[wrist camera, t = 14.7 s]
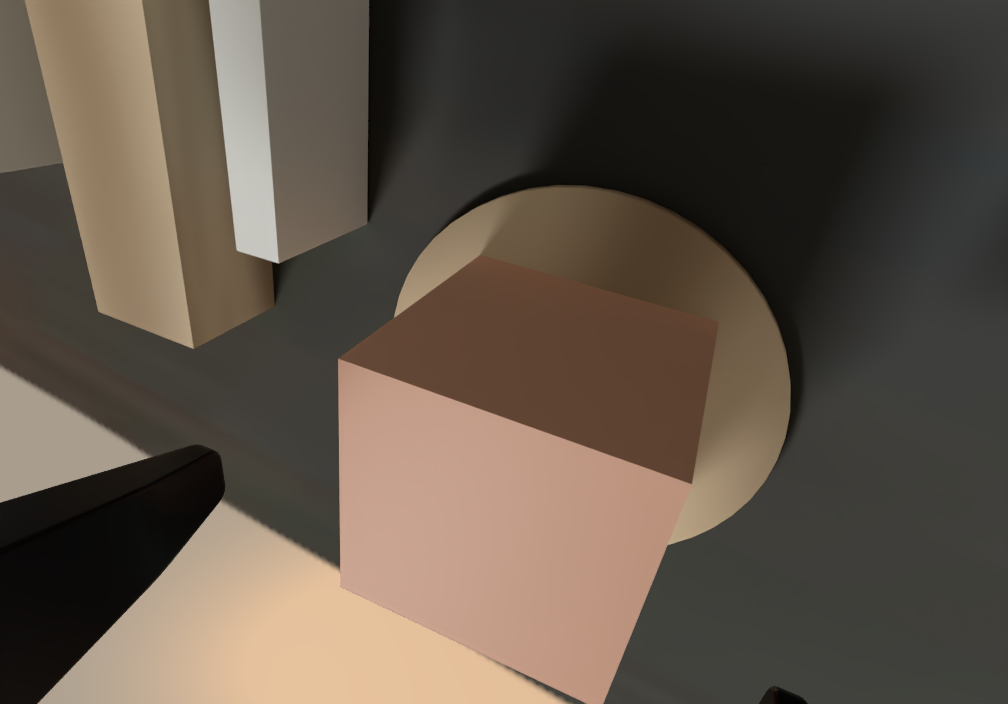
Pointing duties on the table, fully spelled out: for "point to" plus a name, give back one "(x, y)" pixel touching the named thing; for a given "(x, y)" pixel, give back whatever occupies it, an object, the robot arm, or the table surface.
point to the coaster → (655, 279)
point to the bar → (148, 163)
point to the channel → (247, 115)
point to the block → (520, 465)
